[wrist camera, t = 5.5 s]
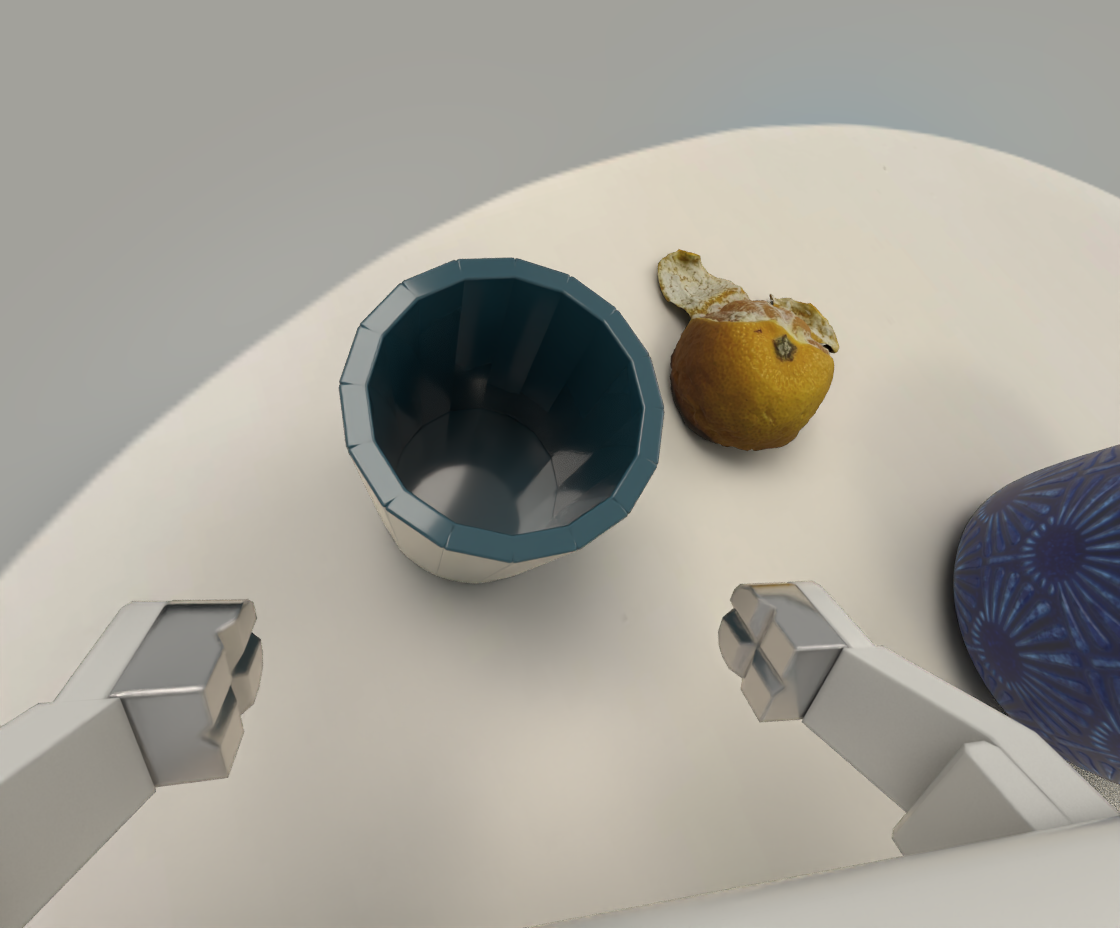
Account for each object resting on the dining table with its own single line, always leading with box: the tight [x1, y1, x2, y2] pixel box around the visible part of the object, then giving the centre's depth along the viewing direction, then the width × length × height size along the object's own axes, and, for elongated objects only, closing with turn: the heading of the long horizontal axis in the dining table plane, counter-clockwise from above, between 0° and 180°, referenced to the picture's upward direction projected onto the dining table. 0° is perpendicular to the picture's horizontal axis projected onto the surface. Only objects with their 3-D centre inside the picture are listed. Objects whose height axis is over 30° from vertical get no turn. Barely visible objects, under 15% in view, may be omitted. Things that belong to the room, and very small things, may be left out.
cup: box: [339, 258, 664, 584], centre depth 14 cm, size 6×6×8 cm
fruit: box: [658, 249, 839, 451], centre depth 20 cm, size 8×8×4 cm
